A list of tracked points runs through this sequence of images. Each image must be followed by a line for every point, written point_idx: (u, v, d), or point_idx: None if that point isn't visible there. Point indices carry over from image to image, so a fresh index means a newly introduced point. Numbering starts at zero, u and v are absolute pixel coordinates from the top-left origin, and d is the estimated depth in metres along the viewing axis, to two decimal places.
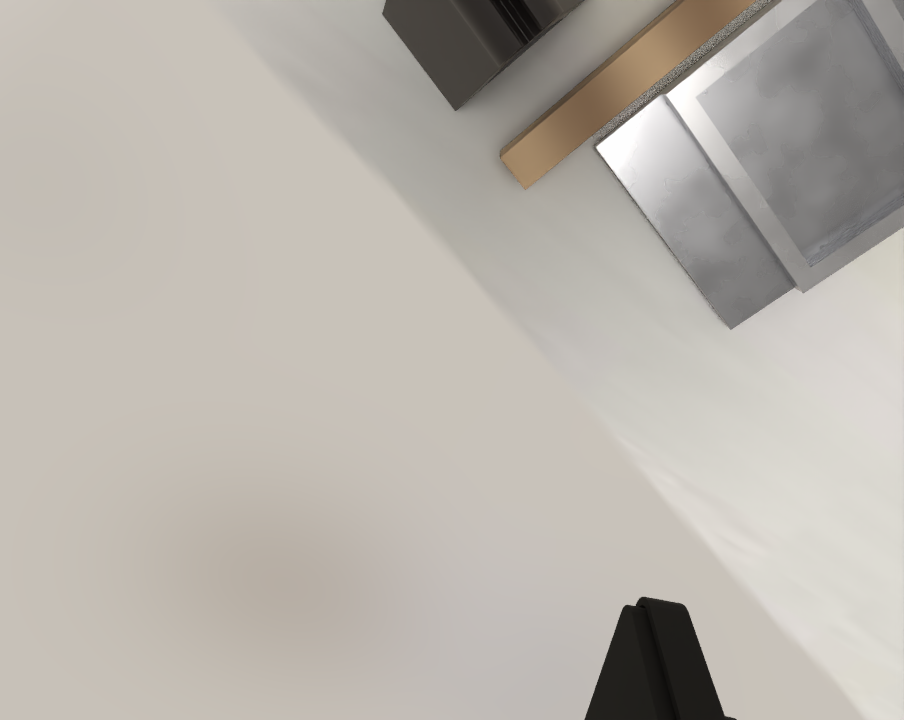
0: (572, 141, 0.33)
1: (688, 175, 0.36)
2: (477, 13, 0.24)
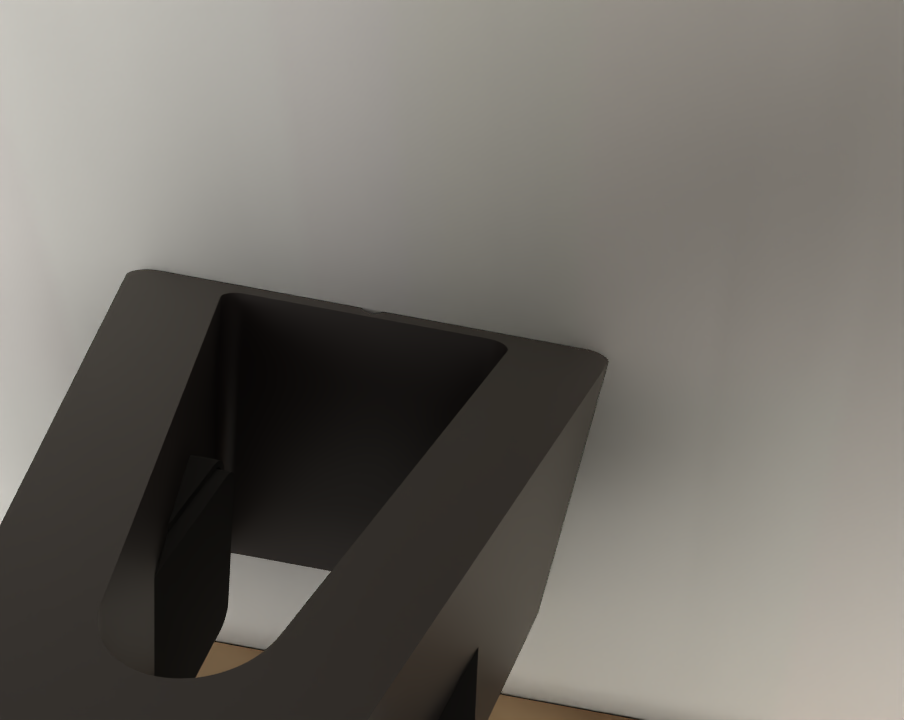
0: None
1: None
2: None
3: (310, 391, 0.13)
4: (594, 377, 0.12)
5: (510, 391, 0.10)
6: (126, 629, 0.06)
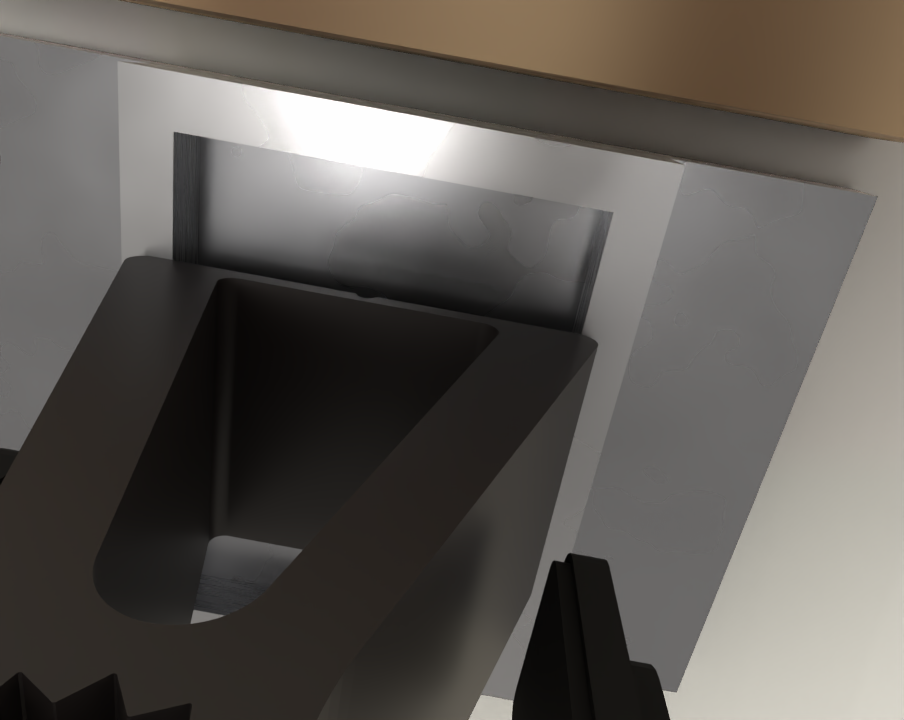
0: None
1: (99, 269, 0.14)
2: None
3: (305, 374, 0.13)
4: (583, 359, 0.12)
5: (499, 370, 0.11)
6: (121, 589, 0.07)
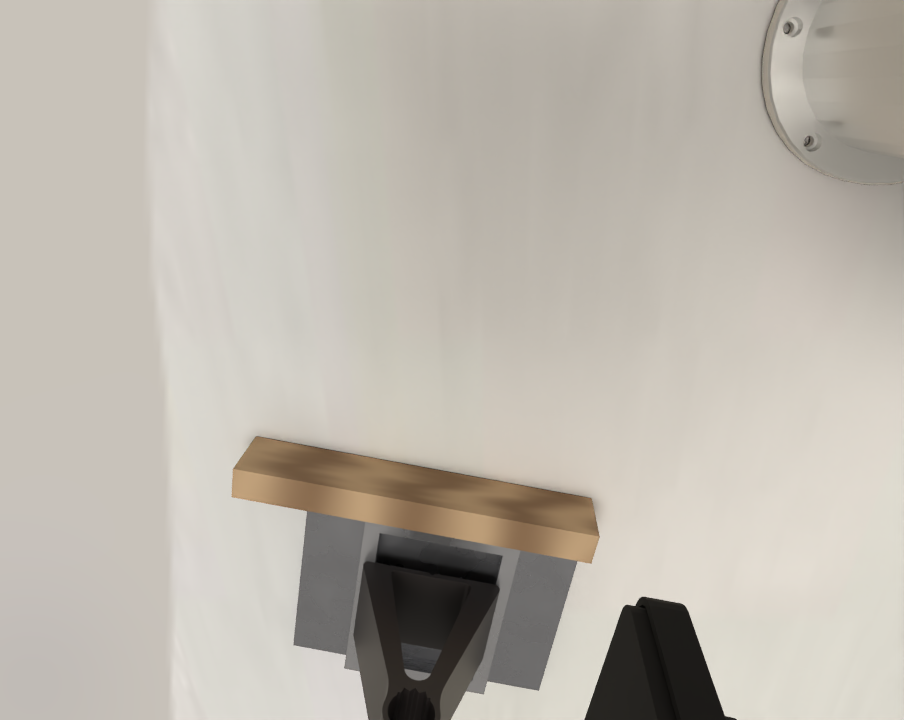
0: (283, 501, 0.41)
1: (345, 555, 0.45)
2: None
3: (413, 595, 0.44)
4: (493, 598, 0.43)
5: (470, 608, 0.42)
6: None
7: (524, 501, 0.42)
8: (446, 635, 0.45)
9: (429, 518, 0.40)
